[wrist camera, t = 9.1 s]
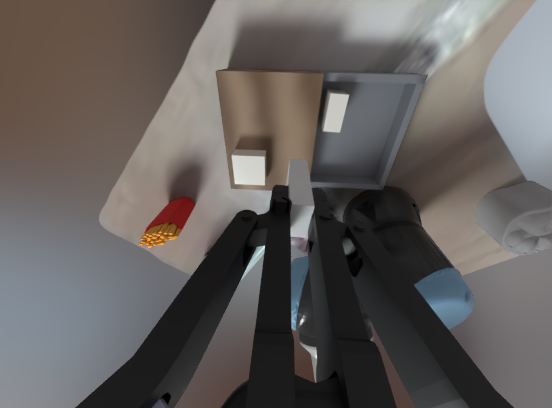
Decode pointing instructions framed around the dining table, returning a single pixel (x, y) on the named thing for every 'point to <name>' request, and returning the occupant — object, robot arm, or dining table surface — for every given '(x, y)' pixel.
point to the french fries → (168, 222)
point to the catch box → (364, 128)
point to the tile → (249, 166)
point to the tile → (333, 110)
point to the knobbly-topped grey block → (518, 217)
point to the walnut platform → (270, 117)
